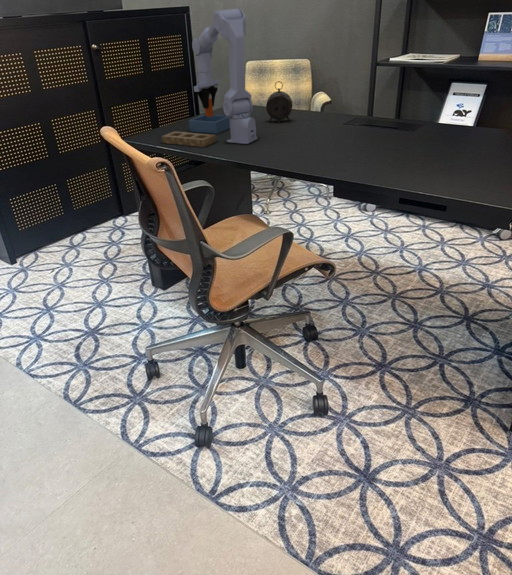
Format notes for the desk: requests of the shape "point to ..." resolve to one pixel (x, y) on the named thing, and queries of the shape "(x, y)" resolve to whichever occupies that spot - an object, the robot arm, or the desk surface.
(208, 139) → the pen rack
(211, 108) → the pill bottle
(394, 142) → the desk surface
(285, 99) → the alarm clock
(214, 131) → the bin
